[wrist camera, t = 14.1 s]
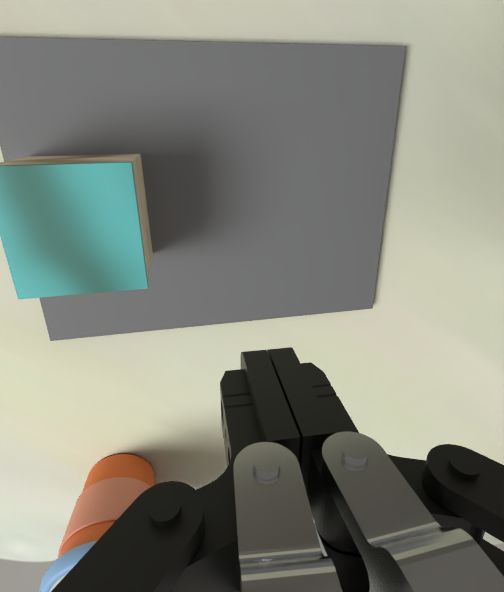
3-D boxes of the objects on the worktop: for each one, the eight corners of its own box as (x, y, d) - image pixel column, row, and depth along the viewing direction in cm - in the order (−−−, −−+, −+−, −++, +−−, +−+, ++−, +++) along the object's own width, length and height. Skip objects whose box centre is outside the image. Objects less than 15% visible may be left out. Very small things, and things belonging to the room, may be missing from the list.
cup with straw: (56, 456, 35) (-41, 737, 19) (154, 429, 36) (142, 675, 20) (91, 520, 39) (36, 798, 23) (179, 494, 40) (186, 744, 24)
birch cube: (-20, 166, 19) (28, 156, 25) (18, 299, 21) (52, 260, 28) (131, 162, 20) (140, 153, 26) (147, 288, 23) (152, 253, 29)
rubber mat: (400, 47, 27) (405, 46, 27) (369, 305, 35) (372, 308, 35) (-24, 38, 23) (-28, 36, 22) (52, 337, 31) (50, 340, 30)
